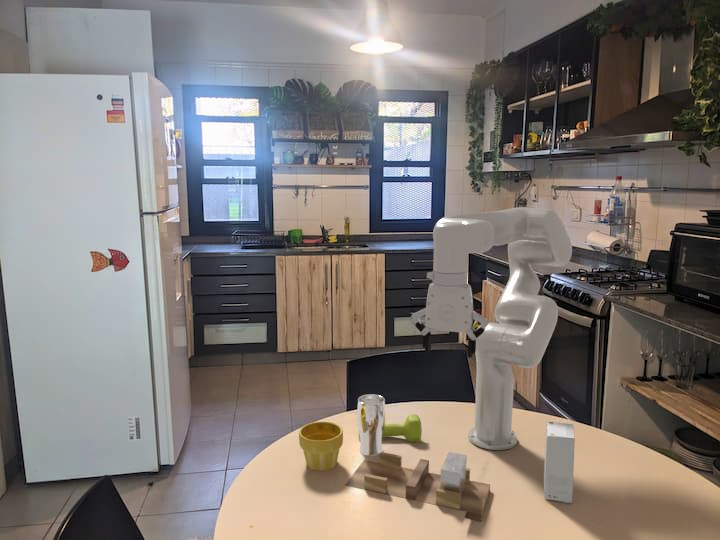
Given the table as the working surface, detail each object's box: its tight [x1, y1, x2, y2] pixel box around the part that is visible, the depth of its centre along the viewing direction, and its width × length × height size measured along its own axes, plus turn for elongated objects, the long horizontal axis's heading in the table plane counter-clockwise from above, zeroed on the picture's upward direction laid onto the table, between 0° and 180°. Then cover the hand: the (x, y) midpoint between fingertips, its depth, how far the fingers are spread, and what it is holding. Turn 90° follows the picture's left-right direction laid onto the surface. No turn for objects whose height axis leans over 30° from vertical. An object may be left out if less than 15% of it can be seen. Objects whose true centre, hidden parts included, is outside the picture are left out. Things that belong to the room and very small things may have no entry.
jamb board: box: [344, 451, 491, 522], centre depth 125 cm, size 12×30×4 cm, turn 69°
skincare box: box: [543, 421, 576, 505], centre depth 124 cm, size 8×6×15 cm
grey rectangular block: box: [440, 451, 467, 496], centre depth 122 cm, size 8×4×7 cm, turn 159°
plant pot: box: [298, 420, 344, 471], centre depth 134 cm, size 10×10×10 cm
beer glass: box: [356, 393, 386, 457], centre depth 139 cm, size 7×7×15 cm
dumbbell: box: [358, 414, 423, 443], centre depth 147 cm, size 16×8×7 cm, turn 90°
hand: (448, 353), depth 127 cm, fingers open, 9 cm apart
